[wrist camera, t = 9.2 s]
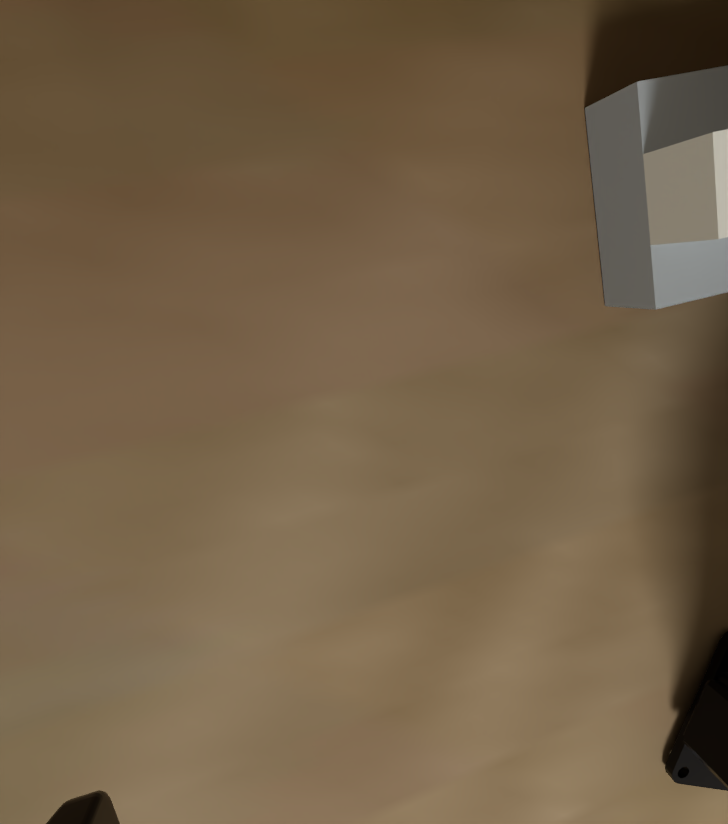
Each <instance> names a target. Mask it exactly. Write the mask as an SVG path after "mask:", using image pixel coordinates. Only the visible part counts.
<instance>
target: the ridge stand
mask: <svg viewBox="0 0 728 824" xmlns="http://www.w3.org/2000/svg"><path fill="white" fill-rule="evenodd" d="M585 115H586V125H587V134H588V144H589V154H590V164H591V173H592V183H593V193H594V202H595V212H596V222H597V231H598V241H599V251H600V261H601V270H602V280H603V290H604V299H605V306H611V307H626V308H641V309H660V308H664V307H668V306H672V305H676V304H681V303H685V302H689V301H693V300H697V299H701V298H705V297H710V296H714V295H718V294H722V293H726V292H728V65H727V66H722V67H716V68H711V69H705V70H699V71H694V72H688V73H682V74H677V75H671V76H666V77H660V78H654V79H649V80H643V81H638V82H635V83H633V84H631V85H629V86H627V87H625V88H623V89H621V90H619V91H617V92H615V93H613V94H611V95H609V96H607V97H605V98H603V99H602V100H600V101H598V102H596V103H594V104H592V105H590V106H588V107H586V108H585Z"/></svg>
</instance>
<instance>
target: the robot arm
mask: <svg viewBox="0 0 728 824" xmlns="http://www.w3.org/2000/svg"><path fill="white" fill-rule="evenodd" d="M665 769H666V772H667V773H668V775H669V776H670V777H671V778H672V779H673V780H674V782H676V783H679V784H685V785H692V786H699V787H706V788H713V789H720V790H727V791H728V632H726V633H725V634H724V635H723V636H722V638H721V639H720V641H719V644H718V646H717V648H716V650H715V653H714V655H713V657H712V660H711V662H710V664H709V666H708V669H707V671H706V673H705V676H704V678H703V680H702V682H701V685H700V687H699V689H698V692H697V694H696V696H695V698H694V701H693V703H692V705H691V708H690V710H689V712H688V715H687V717H686V719H685V721H684V724H683V726H682V728H681V731H680V733H679V735H678V737H677V740H676V742H675V744H674V747H673V749H672V751H671V753H670V756H669V758H668V760H667V763H666V766H665ZM46 824H120V823H119V820H118V818H117V815H116V812H115V809H114V807H113V804H112V801H111V799H110V797H109V796H108V794H107V793H106V792H104V791H96V792H92V793H89V794H86V795H83V796H80V797H76V798H73V799H71V800H68V801H66V802H65V803H64V804H63V805H62V806H61V807H60V808H59V809H58V810H57V811H56V812H55V814H54V815H53V816H52V817H51V818H50V820H49V821H48V822H47V823H46Z"/></svg>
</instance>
